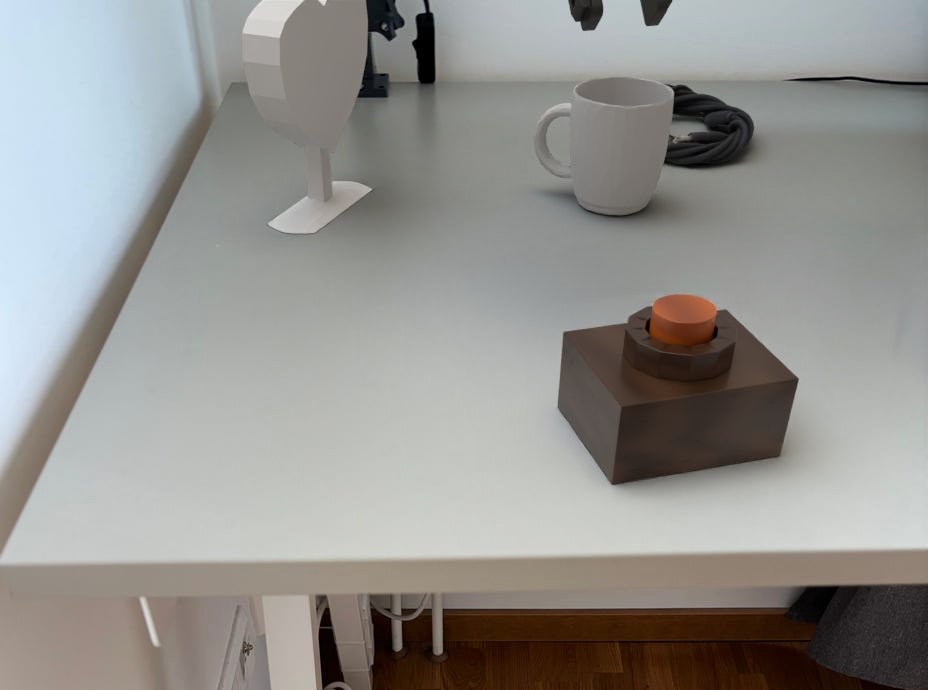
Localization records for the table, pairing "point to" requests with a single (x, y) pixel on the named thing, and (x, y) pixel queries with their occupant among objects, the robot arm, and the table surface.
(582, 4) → the robot arm
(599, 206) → the mug
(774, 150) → the table surface
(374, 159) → the table surface
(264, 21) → the heart sculpture
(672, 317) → the button
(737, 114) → the cable
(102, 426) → the table surface
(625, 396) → the control block
